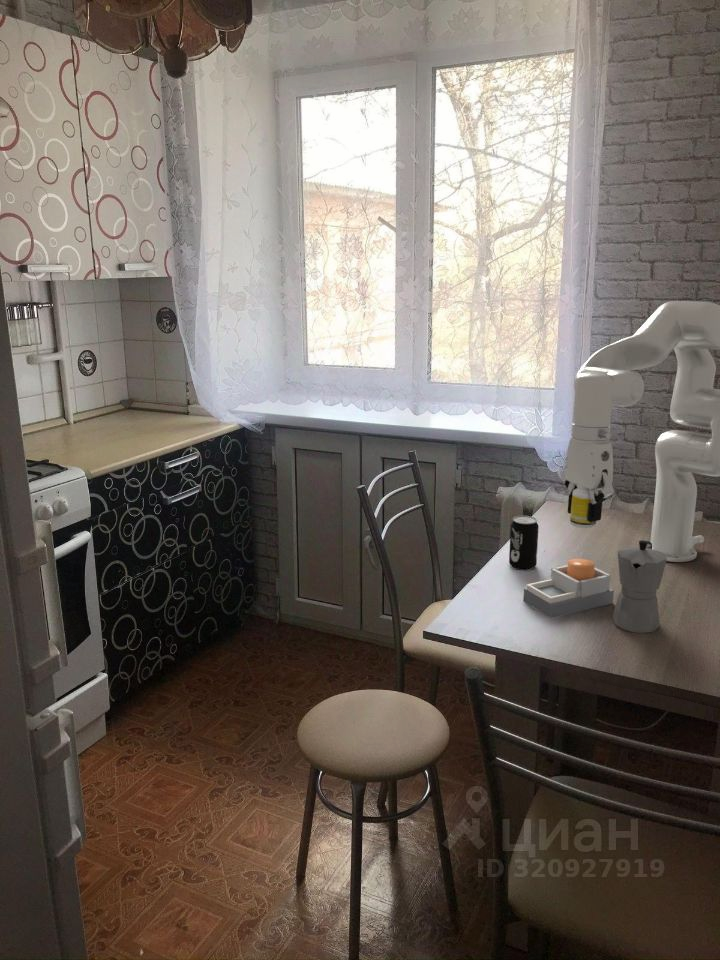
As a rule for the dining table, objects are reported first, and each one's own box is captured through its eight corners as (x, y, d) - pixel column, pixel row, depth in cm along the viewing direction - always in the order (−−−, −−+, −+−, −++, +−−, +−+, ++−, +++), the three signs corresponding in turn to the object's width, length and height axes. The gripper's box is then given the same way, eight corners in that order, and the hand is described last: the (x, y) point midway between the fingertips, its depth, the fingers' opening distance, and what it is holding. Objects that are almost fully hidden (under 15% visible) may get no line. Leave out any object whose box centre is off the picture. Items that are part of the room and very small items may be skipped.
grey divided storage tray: (582, 587, 178) (584, 560, 176) (612, 603, 169) (615, 575, 167) (523, 600, 171) (524, 573, 169) (551, 618, 162) (553, 589, 161)
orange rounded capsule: (581, 578, 174) (582, 557, 172) (598, 587, 169) (600, 565, 168) (561, 583, 172) (562, 561, 170) (578, 592, 167) (579, 570, 165)
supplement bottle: (593, 530, 163) (597, 484, 160) (567, 526, 165) (570, 481, 162) (598, 522, 167) (602, 478, 165) (572, 519, 170) (576, 475, 167)
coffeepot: (654, 641, 152) (663, 555, 147) (605, 631, 156) (612, 547, 152) (666, 611, 165) (674, 531, 160) (620, 602, 169) (627, 524, 165)
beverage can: (536, 571, 187) (539, 524, 183) (508, 570, 188) (510, 522, 185) (536, 561, 193) (538, 515, 190) (509, 560, 194) (511, 514, 191)
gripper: (634, 439, 155) (626, 525, 160) (576, 424, 170) (571, 503, 175) (605, 442, 152) (598, 530, 157) (549, 427, 167) (544, 508, 172)
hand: (583, 515), depth 166 cm, fingers closed on supplement bottle, 5 cm apart
